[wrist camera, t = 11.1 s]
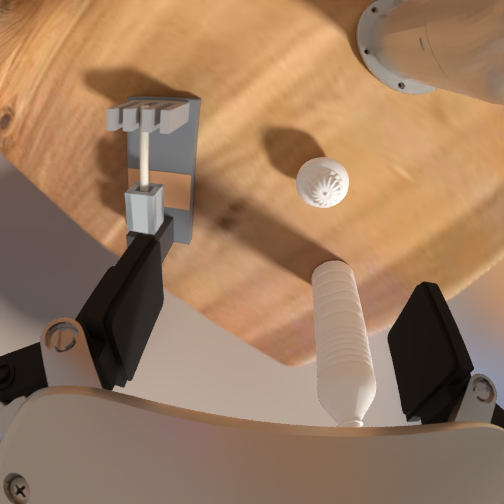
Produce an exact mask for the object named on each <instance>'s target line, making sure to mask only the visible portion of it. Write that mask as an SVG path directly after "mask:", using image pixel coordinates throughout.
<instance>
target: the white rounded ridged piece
mask: <svg viewBox="0 0 504 504" xmlns="http://www.w3.org/2000/svg"><path fill="white" fill-rule="evenodd" d="M348 186H349V178H348V174H347V172H346V170H345V168H344V167H343V166H342V165H341V164H340V163H339V162H338V161H336V160H334V159H332V158H328V157H318V158H314V159H311V160H309V161H307V162H306V163H304V164H303V165H302V166H301V168H300V170H299V172H298V174H297V178H296V188H297V191H298V193H299V195H300V197H301V198H302V199H303V200H304V201H305V202H306V203H308V204H309V205H312V206H315V207H320V208H326V207H331V206H333V205H336V204H337V203H339V202H340V201H341V200H342V199H343V198H344V197H345V195H346V193H347V190H348Z"/></svg>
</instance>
